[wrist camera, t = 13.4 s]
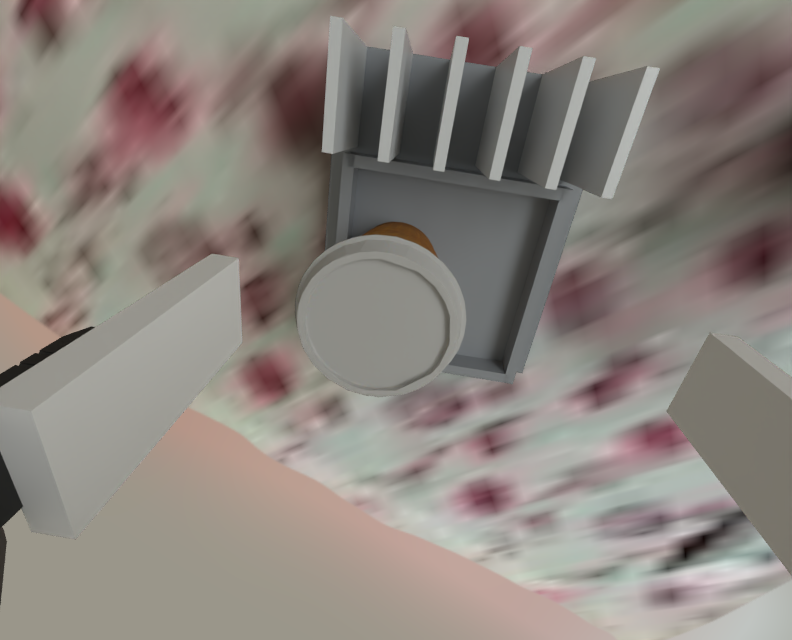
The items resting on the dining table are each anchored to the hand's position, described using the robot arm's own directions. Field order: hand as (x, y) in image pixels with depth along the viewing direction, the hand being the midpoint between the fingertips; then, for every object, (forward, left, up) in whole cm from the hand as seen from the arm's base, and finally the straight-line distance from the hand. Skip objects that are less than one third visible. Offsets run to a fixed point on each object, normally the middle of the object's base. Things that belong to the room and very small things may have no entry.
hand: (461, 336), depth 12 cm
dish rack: (+2, 0, -22) cm, 22 cm away
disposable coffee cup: (+5, -3, -21) cm, 22 cm away
